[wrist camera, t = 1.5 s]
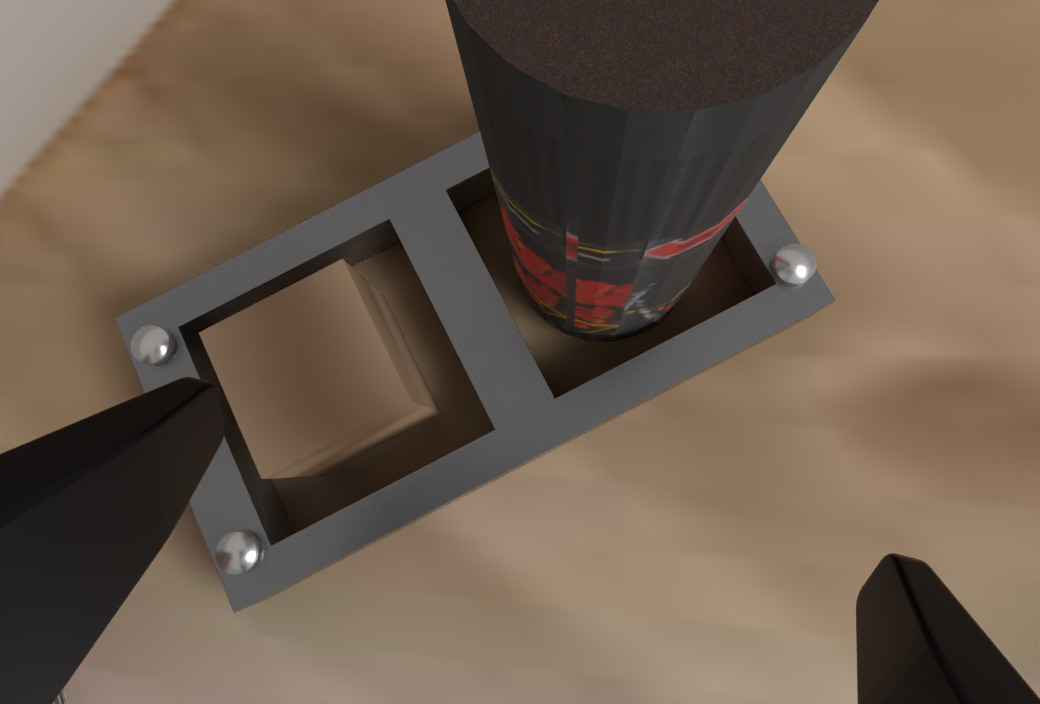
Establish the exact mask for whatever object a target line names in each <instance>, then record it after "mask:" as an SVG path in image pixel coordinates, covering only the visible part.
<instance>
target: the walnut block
mask: <svg viewBox="0 0 1040 704" xmlns="http://www.w3.org/2000/svg"><path fill="white" fill-rule="evenodd" d="M199 335H200V337H201V339H202V342H203V344H204V346H205V349H206V351H207V353H208V356H209V358H210V360H211V363H212V365H213V367H214V370H215V372H216V374H217V377H218V379H219V381H220V384H221V386H222V388H223V391H224V393H225V395H226V397H227V400H228V402H229V404H230V407H231V409H232V411H233V414H234V416H235V418H236V421H237V423H238V425H239V428H240V430H241V432H242V435H243V437H244V439H245V442H246V444H247V446H248V449H249V451H250V453H251V456H252V458H253V460H254V463H255V465H256V467H257V470H258V472H259V474H260V477H261V479H270V478H290V477H311V476H321V475H323V474H325V473H327V472H329V471H331V470H333V469H335V468H336V467H338V466H340V465H342V464H344V463H346V462H348V461H350V460H352V459H354V458H356V457H358V456H360V455H362V454H364V453H365V452H367V451H369V450H371V449H373V448H375V447H377V446H379V445H381V444H383V443H385V442H387V441H389V440H391V439H393V438H394V437H396V436H398V435H400V434H402V433H404V432H406V431H408V430H410V429H412V428H414V427H416V426H418V425H420V424H422V423H423V422H425V421H427V420H429V419H431V418H433V417H435V416H437V415H439V414H441V412H440V410H439V408H438V406H437V404H436V402H435V400H434V397H433V395H432V393H431V391H430V389H429V387H428V385H427V383H426V381H425V379H424V377H423V375H422V373H421V371H420V369H419V367H418V365H417V363H416V361H415V359H414V357H413V354H412V352H411V350H410V348H409V346H408V344H407V342H406V340H405V338H404V336H403V334H402V332H401V330H400V328H399V326H398V324H397V322H396V320H395V318H394V316H393V314H392V311H391V309H390V307H389V305H388V303H387V301H386V299H385V297H384V296H383V295H382V294H381V293H380V292H379V291H378V290H376V289H375V288H374V287H373V286H372V285H371V284H370V283H369V282H368V281H367V280H365V279H364V278H363V277H362V276H361V275H360V274H359V273H358V272H357V271H356V270H354V269H353V268H352V267H351V266H350V265H349V264H348V263H347V262H346V261H344V260H343V259H341V260H339V261H337V262H335V263H333V264H331V265H329V266H327V267H325V268H324V269H322V270H320V271H318V272H316V273H314V274H312V275H310V276H308V277H306V278H304V279H302V280H300V281H298V282H296V283H294V284H292V285H290V286H288V287H287V288H285V289H283V290H281V291H279V292H277V293H275V294H273V295H271V296H269V297H267V298H265V299H263V300H261V301H259V302H257V303H255V304H253V305H252V306H250V307H248V308H246V309H244V310H242V311H240V312H238V313H236V314H234V315H232V316H230V317H228V318H226V319H224V320H222V321H220V322H218V323H216V324H215V325H213V326H211V327H209V328H207V329H205V330H203V331H201V332H199Z"/></svg>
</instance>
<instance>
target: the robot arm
mask: <svg viewBox="0 0 1040 704" xmlns="http://www.w3.org/2000/svg"><path fill="white" fill-rule="evenodd" d="M224 434H225V421H224V416H223V410H222V405H221V400H220V394H219V390H218V388H217V386H216V385H215V384H214V383H212V382H209V381H205V380H201V379H197V378H193V377H183V378H180V379H177V380H175V381H173V382H170V383H168V384H166V385H163V386H161V387H158V388H156V389H154V390H151V391H149V392H147V393H144V394H142V395H139V396H137V397H135V398H132V399H130V400H128V401H125V402H123V403H120V404H118V405H116V406H113V407H111V408H109V409H106V410H104V411H101V412H99V413H97V414H94V415H92V416H90V417H87V418H85V419H82V420H80V421H78V422H75V423H73V424H71V425H68V426H66V427H63V428H61V429H59V430H56V431H54V432H52V433H49V434H47V435H45V436H42V437H40V438H37V439H35V440H33V441H30V442H28V443H26V444H23V445H21V446H18V447H16V448H14V449H11V450H9V451H7V452H4V453H2V454H0V704H53V702H54V701H55V700H56V698H57V697H58V695H59V694H60V692H61V691H62V690H63V688H64V687H65V685H66V684H67V682H68V681H69V680H70V678H71V677H72V675H73V674H74V672H75V671H76V670H77V668H78V667H79V665H80V664H81V662H82V661H83V660H84V658H85V657H86V655H87V654H88V652H89V651H90V650H91V648H92V647H93V645H94V644H95V642H96V641H97V640H98V638H99V637H100V635H101V634H102V632H103V631H104V630H105V628H106V627H107V625H108V624H109V622H110V621H111V620H112V618H113V617H114V615H115V614H116V612H117V611H118V610H119V608H120V607H121V605H122V604H123V602H124V601H125V600H126V598H127V597H128V595H129V594H130V592H131V591H132V590H133V588H134V587H135V585H136V584H137V582H138V581H139V580H140V578H141V577H142V575H143V574H144V572H145V571H146V570H147V568H148V567H149V565H150V564H151V562H152V561H153V560H154V558H155V557H156V555H157V554H158V552H159V551H160V550H161V548H162V547H163V545H164V544H165V542H166V541H167V539H168V538H169V536H170V534H171V533H172V531H173V529H174V528H175V526H176V524H177V523H178V521H179V519H180V517H181V516H182V514H183V512H184V510H185V508H186V507H187V505H188V503H189V501H190V499H191V497H192V496H193V494H194V492H195V490H196V488H197V487H198V485H199V483H200V481H201V479H202V477H203V476H204V474H205V472H206V470H207V468H208V467H209V465H210V463H211V461H212V459H213V458H214V456H215V454H216V452H217V450H218V448H219V447H220V445H221V443H222V440H223V438H224ZM856 635H857V690H858V704H1040V698H1039V697H1038V696H1037V695H1036V694H1035V692H1034V691H1033V690H1032V689H1031V688H1030V686H1029V685H1028V684H1027V683H1026V682H1025V680H1024V679H1023V678H1022V677H1021V676H1020V674H1019V673H1018V672H1017V671H1016V669H1015V668H1014V667H1013V666H1012V665H1011V663H1010V662H1009V661H1008V660H1007V659H1006V657H1005V656H1004V655H1003V654H1002V653H1001V651H1000V650H999V649H998V648H997V647H996V645H995V644H994V643H993V642H992V641H991V639H990V638H989V637H988V636H987V635H986V633H985V632H984V631H983V630H982V629H981V627H980V626H979V625H978V624H977V623H976V621H975V620H974V619H973V618H972V617H971V615H970V614H969V613H968V612H967V611H966V609H965V608H964V607H963V606H962V605H961V603H960V602H959V601H958V600H957V599H956V597H955V596H954V595H953V594H952V593H951V591H950V590H949V589H948V588H947V587H946V585H945V584H944V583H943V582H942V581H941V579H940V578H939V577H938V576H937V575H936V573H935V572H934V571H933V570H932V569H931V567H930V566H929V565H928V564H926V563H925V562H923V561H921V560H919V559H915V558H911V557H907V556H903V555H899V554H895V553H890V554H888V555H886V556H885V557H884V558H883V559H882V560H881V561H880V563H879V564H878V566H877V567H876V568H875V570H874V571H873V573H872V574H871V576H870V577H869V578H868V580H867V581H866V583H865V584H864V585H863V587H862V588H861V590H860V592H859V595H858V598H857V603H856Z"/></svg>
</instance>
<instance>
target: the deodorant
mask: <svg viewBox="0 0 1040 704" xmlns="http://www.w3.org/2000/svg"><path fill="white" fill-rule="evenodd" d="M878 1H879V0H446V4H447V8H448V11H449V15H450V19H451V23H452V27H453V30H454V34H455V38H456V42H457V46H458V49H459V53H460V57H461V61H462V65H463V68H464V72H465V76H466V80H467V84H468V87H469V91H470V95H471V99H472V103H473V106H474V110H475V114H476V118H477V122H478V126H479V129H480V133H481V137H482V141H483V145H484V148H485V152H486V156H487V160H488V164H489V167H490V171H491V175H492V179H493V183H494V186H495V190H496V194H497V198H498V202H499V205H500V209H501V213H502V217H503V221H504V224H505V228H506V232H507V236H508V240H509V243H510V247H511V251H512V255H513V259H514V262H515V266H516V270H517V274H518V278H519V281H520V285H521V287H522V289H523V291H524V293H525V295H526V297H527V298H528V300H529V302H530V304H531V306H532V307H533V308H534V309H535V310H536V311H537V312H538V313H539V314H540V315H541V316H542V317H543V318H544V319H545V320H546V321H547V322H548V323H550V324H552V325H553V326H555V327H557V328H558V329H560V330H561V331H563V332H565V333H566V334H569V335H573V336H576V337H580V338H583V339H586V340H595V341H615V340H619V339H624V338H628V337H632V336H636V335H638V334H640V333H642V332H644V331H646V330H648V329H649V328H651V327H653V326H655V325H657V324H658V323H659V322H660V321H661V320H662V319H663V318H664V317H665V316H666V315H667V314H669V313H670V312H671V311H672V310H673V309H674V307H675V306H676V304H677V303H678V301H679V300H680V298H681V297H682V295H683V294H684V292H685V291H686V289H687V288H688V286H689V285H690V283H691V282H692V280H693V279H694V277H695V276H696V274H697V273H698V271H699V270H700V268H701V267H702V265H703V264H704V262H705V261H706V259H707V258H708V256H709V255H710V253H711V252H712V250H713V249H714V247H715V246H716V244H717V243H718V241H719V240H720V238H721V237H722V236H723V234H724V233H725V231H726V230H727V228H728V227H729V225H730V224H731V222H732V221H733V219H734V218H735V216H736V215H737V213H738V212H739V210H740V209H741V207H742V206H743V204H744V203H745V201H746V200H747V198H748V197H749V195H750V194H751V192H752V191H753V189H754V188H755V186H756V185H757V183H758V182H759V180H760V179H761V177H762V176H763V174H764V173H765V171H766V170H767V168H768V167H769V165H770V164H771V162H772V161H773V159H774V158H775V156H776V155H777V153H778V152H779V150H780V149H781V147H782V146H783V144H784V143H785V141H786V140H787V138H788V137H789V135H790V134H791V132H792V131H793V129H794V128H795V126H796V125H797V123H798V122H799V120H800V119H801V117H802V116H803V114H804V113H805V111H806V110H807V108H808V107H809V105H810V104H811V102H812V101H813V99H814V98H815V96H816V95H817V93H818V92H819V90H820V89H821V87H822V86H823V84H824V83H825V81H826V80H827V78H828V77H829V75H830V74H831V72H832V71H833V69H834V68H835V66H836V65H837V63H838V62H839V60H840V59H841V57H842V56H843V55H844V53H845V52H846V50H847V49H848V47H849V46H850V44H851V43H852V41H853V40H854V38H855V37H856V35H857V34H858V32H859V31H860V29H861V28H862V26H863V25H864V23H865V22H866V20H867V18H868V17H869V15H870V14H871V12H872V10H873V9H874V7H875V5H876V4H877V2H878Z"/></svg>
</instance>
